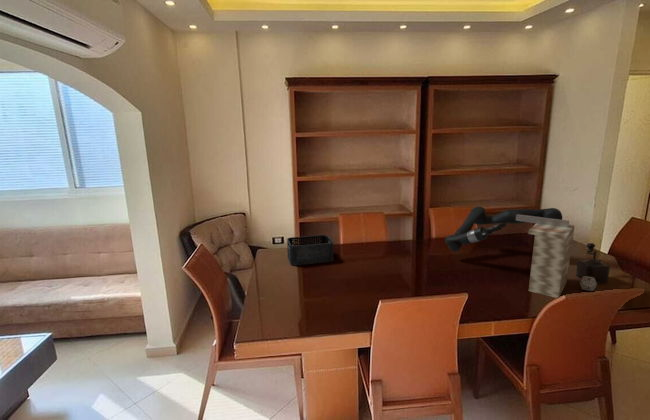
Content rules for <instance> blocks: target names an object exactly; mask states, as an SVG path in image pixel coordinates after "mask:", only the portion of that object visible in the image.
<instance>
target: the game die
mask: <svg viewBox="0 0 650 420" xmlns="http://www.w3.org/2000/svg"><path fill="white" fill-rule="evenodd" d="M582 275H583V274H582ZM577 283H578V284H579V285H580V288H581V289H580V291H589V292H592V291H593V292H594V291H595V289H596V288H597V287H598V286H600V284H598V283H596V280H595V276H594V277H589V276H584V275H583V277H582V278H581V279H580V280H579V281H577Z"/></svg>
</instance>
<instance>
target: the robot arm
mask: <svg viewBox="0 0 650 420" xmlns="http://www.w3.org/2000/svg"><path fill="white" fill-rule="evenodd" d="M517 214H520V215H528V216H536V217H543V218H551V219H559V220H563V214H562V211H561V210H560V209H558V208H554V207H550V208H542V209H541V208H540V209H539V208H538V209H528V208H527V209H525V208H523V209H522V208H521V209H520V208H519V209H518V208H517V209H516V208H515V209H511V208H509V209H505V210H503V211H500V212H499V213H497V214H495V215H494V214H493V215H487V212H486V209H485V207H482V206H475V207H473V208H472V209H471V210H470V212H469V214H468V215H467V217H466V218H465V220H464V222H462V224H461V225H460V227H459V228H458V229H457V230H456V231H455V232H454V234H451V235H447V236H446V238H445V239H444V241H445V242H444V243H445V244H446V245H447V247H448V249H449V250H450V251H451V252H453V253H454V252H455V253H456V252H458V251H459V250H460V249H461V248H462V246H463V245H464V246H468V245H470V244H473V243H477V242H480V241H483V240H486V239H488V236H490V235H492V234H494V233H496V232H499V231H501V230H502V228H505V227H507V224H525V223H527V222H523V221H516V215H517ZM493 224H495V225H493ZM474 225H479V226H480V227H476V228H474V229H473V227H474ZM481 225H491V226H488V227H486V228H485V227H483V226H481Z"/></svg>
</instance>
